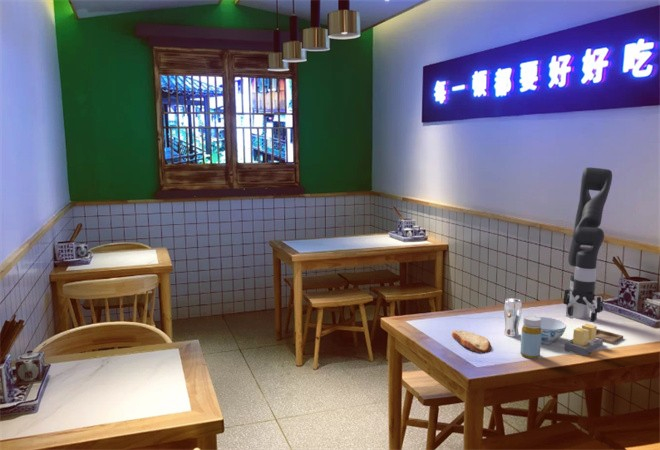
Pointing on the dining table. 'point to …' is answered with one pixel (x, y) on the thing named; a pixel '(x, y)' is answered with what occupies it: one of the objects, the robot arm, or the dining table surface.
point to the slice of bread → (472, 341)
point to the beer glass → (512, 316)
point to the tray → (608, 336)
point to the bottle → (531, 337)
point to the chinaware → (551, 329)
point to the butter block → (580, 337)
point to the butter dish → (592, 342)
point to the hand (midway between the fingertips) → (581, 318)
